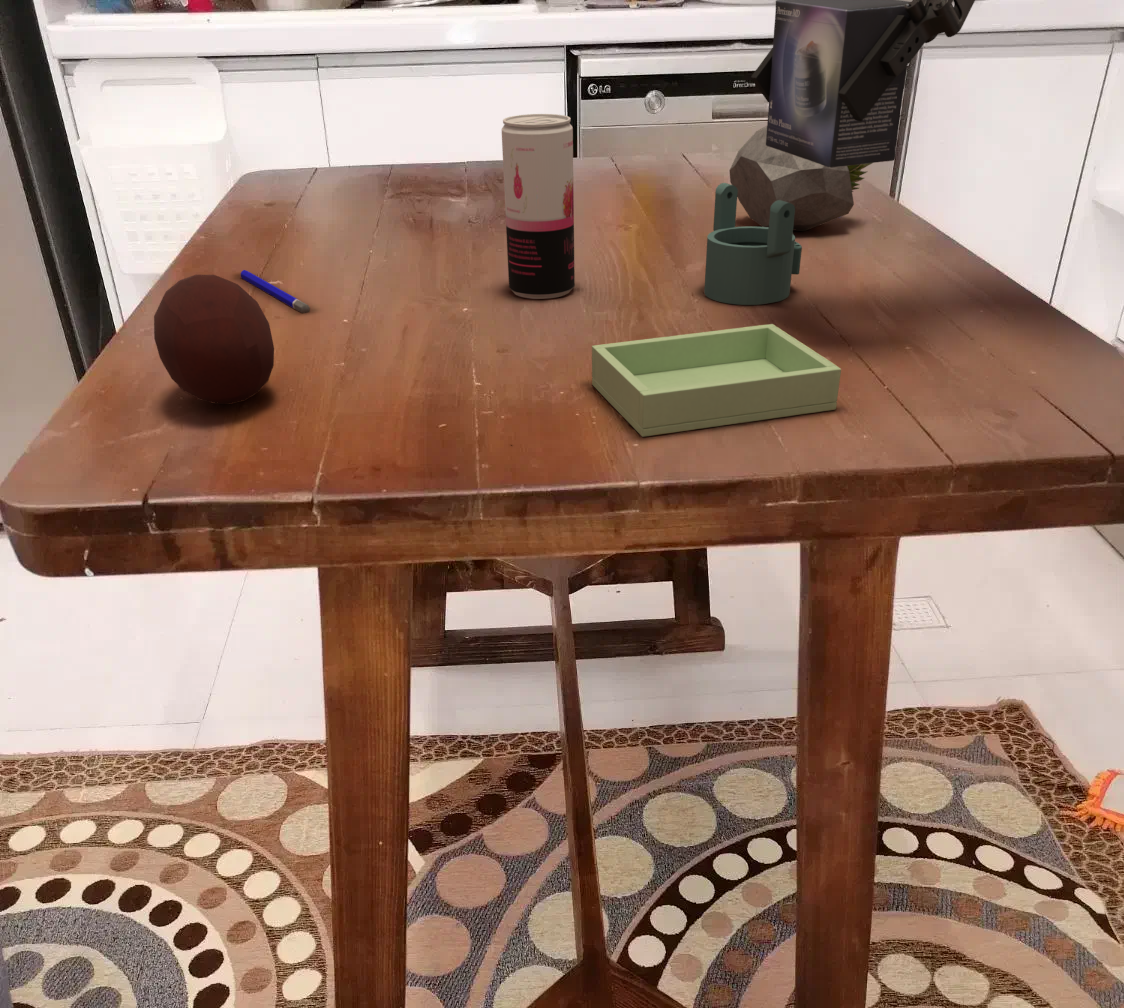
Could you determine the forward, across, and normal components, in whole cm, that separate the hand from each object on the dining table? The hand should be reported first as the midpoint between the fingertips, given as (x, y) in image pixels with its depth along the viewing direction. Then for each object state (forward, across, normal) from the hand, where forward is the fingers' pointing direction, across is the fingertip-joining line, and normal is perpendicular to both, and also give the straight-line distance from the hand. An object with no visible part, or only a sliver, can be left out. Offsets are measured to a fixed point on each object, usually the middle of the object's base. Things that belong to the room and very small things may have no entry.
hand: (803, 98), depth 86 cm
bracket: (+9, +12, -17) cm, 23 cm away
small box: (+1, 0, -5) cm, 5 cm away
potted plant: (-5, +32, -31) cm, 45 cm away
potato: (+46, +9, +20) cm, 51 cm away
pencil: (+39, +37, +12) cm, 55 cm away
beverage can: (+22, +23, -4) cm, 32 cm away
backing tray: (+22, -10, -3) cm, 25 cm away
